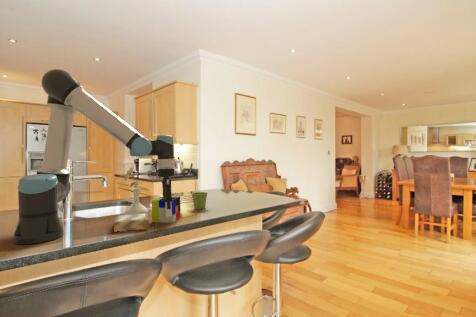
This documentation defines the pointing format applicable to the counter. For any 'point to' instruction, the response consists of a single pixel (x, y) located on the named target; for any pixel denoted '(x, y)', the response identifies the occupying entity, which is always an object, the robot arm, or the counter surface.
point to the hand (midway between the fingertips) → (167, 213)
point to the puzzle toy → (160, 211)
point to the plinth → (131, 222)
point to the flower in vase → (135, 198)
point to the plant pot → (199, 199)
